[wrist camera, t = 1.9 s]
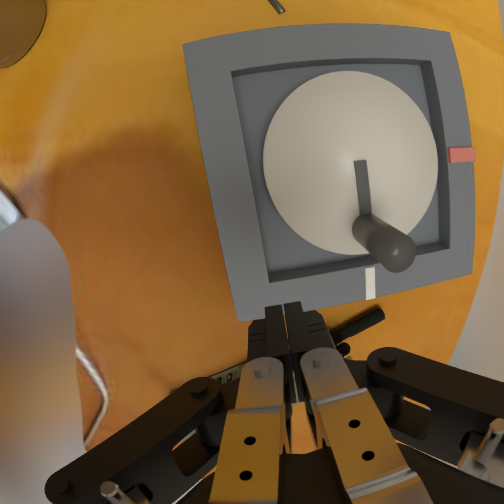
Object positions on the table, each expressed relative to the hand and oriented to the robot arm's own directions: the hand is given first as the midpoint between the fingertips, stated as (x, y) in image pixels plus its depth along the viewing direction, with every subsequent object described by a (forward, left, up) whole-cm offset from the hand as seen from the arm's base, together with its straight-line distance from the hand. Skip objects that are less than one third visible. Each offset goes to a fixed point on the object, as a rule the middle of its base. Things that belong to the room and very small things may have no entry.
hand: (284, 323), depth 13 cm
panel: (-5, +7, -15) cm, 17 cm away
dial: (-5, +7, -13) cm, 16 cm away
